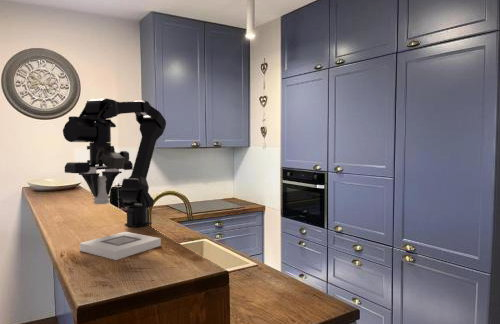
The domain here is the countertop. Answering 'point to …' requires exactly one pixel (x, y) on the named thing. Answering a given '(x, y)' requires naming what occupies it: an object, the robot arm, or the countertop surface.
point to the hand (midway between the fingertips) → (101, 196)
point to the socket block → (120, 245)
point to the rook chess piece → (101, 191)
